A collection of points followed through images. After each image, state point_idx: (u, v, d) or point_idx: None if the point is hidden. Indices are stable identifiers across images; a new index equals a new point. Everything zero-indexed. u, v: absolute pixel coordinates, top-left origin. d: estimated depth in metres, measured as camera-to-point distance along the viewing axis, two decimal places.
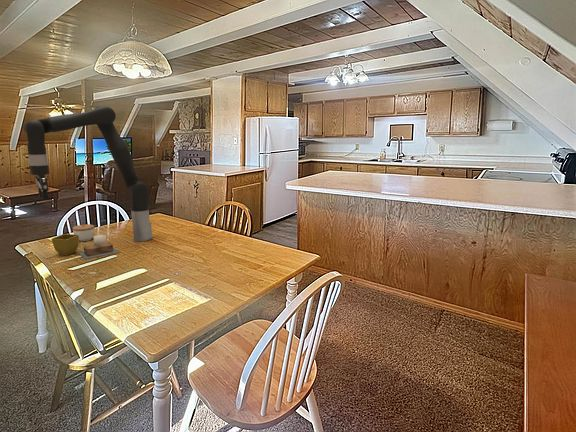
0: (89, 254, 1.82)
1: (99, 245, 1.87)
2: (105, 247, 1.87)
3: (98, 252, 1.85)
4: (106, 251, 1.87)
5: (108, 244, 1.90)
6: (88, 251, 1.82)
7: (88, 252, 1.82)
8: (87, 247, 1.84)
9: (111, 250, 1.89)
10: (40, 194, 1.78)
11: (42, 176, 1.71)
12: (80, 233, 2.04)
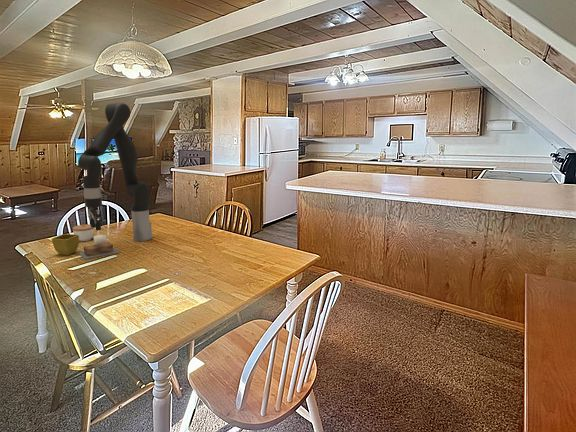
0: (89, 254, 1.82)
1: (99, 245, 1.87)
2: (105, 247, 1.87)
3: (98, 252, 1.85)
4: (106, 251, 1.87)
5: (108, 244, 1.90)
6: (88, 251, 1.82)
7: (88, 252, 1.82)
8: (87, 247, 1.84)
9: (111, 250, 1.89)
10: (92, 224, 1.87)
11: (96, 208, 1.80)
12: (80, 233, 2.04)
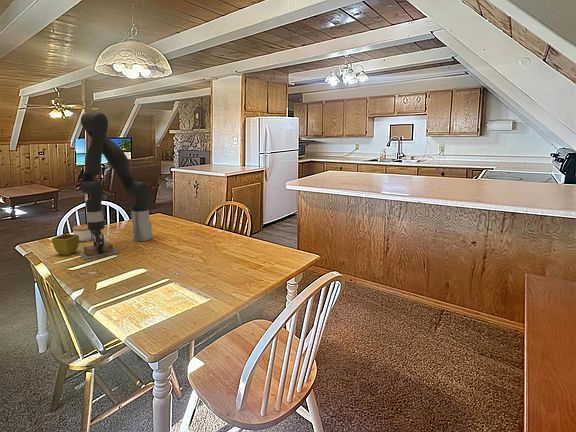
0: (89, 254, 1.82)
1: None
2: (105, 247, 1.87)
3: None
4: (106, 251, 1.87)
5: (108, 244, 1.90)
6: (88, 251, 1.82)
7: (88, 252, 1.82)
8: (87, 247, 1.84)
9: (111, 250, 1.89)
10: None
11: (99, 231, 1.83)
12: (80, 233, 2.04)
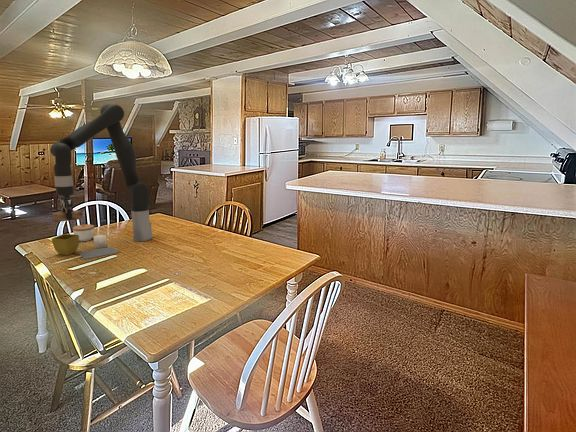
0: (57, 220, 1.77)
1: None
2: (74, 214, 1.82)
3: (66, 218, 1.80)
4: (75, 218, 1.82)
5: (78, 211, 1.84)
6: (56, 217, 1.76)
7: (56, 218, 1.76)
8: (55, 213, 1.79)
9: (80, 217, 1.84)
10: None
11: (67, 196, 1.78)
12: (80, 233, 2.04)
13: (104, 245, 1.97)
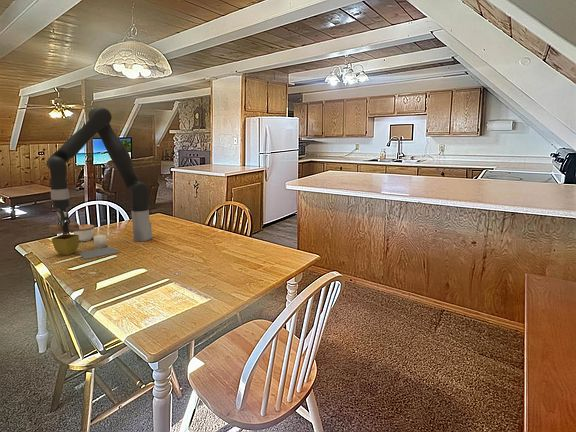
0: (53, 232, 1.79)
1: None
2: (71, 226, 1.84)
3: None
4: (72, 230, 1.84)
5: (74, 223, 1.86)
6: (52, 229, 1.78)
7: (52, 230, 1.78)
8: (52, 226, 1.81)
9: (77, 229, 1.86)
10: None
11: (63, 209, 1.79)
12: (80, 233, 2.04)
13: (104, 245, 1.97)
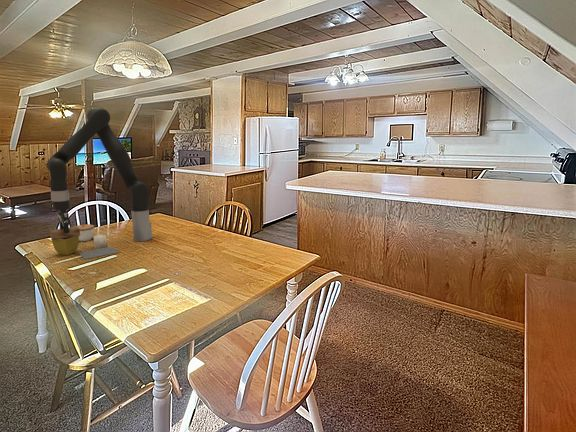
0: (54, 238, 1.80)
1: None
2: (71, 231, 1.84)
3: (64, 236, 1.82)
4: (72, 235, 1.85)
5: (75, 228, 1.87)
6: (53, 234, 1.79)
7: (53, 235, 1.79)
8: (53, 231, 1.82)
9: (78, 234, 1.86)
10: (61, 227, 1.87)
11: (64, 211, 1.80)
12: (80, 233, 2.04)
13: (104, 245, 1.97)
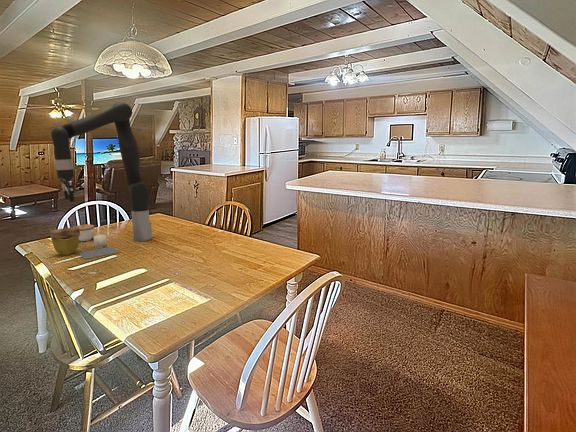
0: (54, 238, 1.79)
1: (66, 229, 1.84)
2: (71, 231, 1.84)
3: (64, 236, 1.82)
4: (72, 235, 1.85)
5: (75, 228, 1.87)
6: (53, 234, 1.79)
7: (53, 235, 1.79)
8: (53, 231, 1.82)
9: (78, 234, 1.86)
10: (66, 196, 1.90)
11: (68, 179, 1.82)
12: (80, 233, 2.04)
13: (104, 245, 1.97)
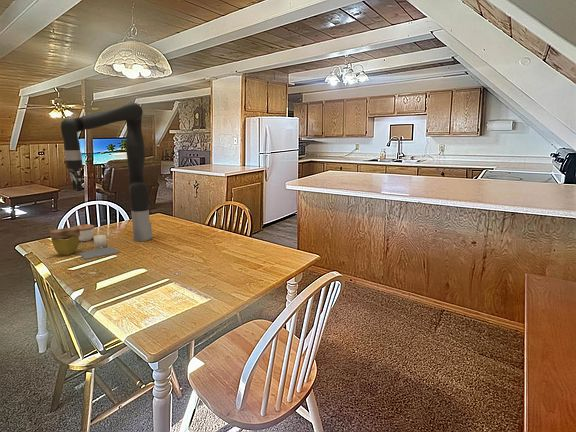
0: (54, 238, 1.79)
1: (66, 229, 1.84)
2: (71, 231, 1.84)
3: (64, 236, 1.82)
4: (72, 235, 1.85)
5: (75, 228, 1.87)
6: (53, 234, 1.79)
7: (53, 235, 1.79)
8: (53, 231, 1.82)
9: (78, 234, 1.86)
10: (73, 186, 1.96)
11: (77, 170, 1.89)
12: (80, 233, 2.04)
13: (104, 245, 1.97)
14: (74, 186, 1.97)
